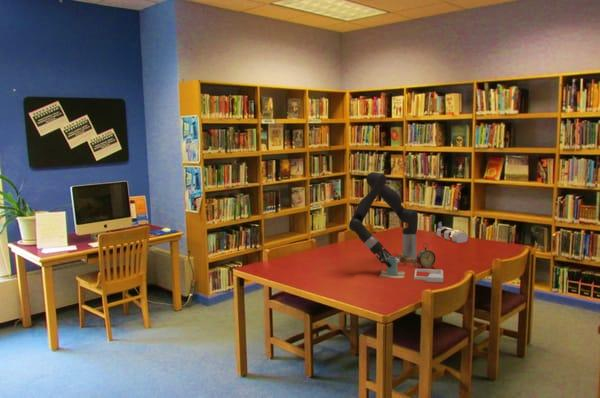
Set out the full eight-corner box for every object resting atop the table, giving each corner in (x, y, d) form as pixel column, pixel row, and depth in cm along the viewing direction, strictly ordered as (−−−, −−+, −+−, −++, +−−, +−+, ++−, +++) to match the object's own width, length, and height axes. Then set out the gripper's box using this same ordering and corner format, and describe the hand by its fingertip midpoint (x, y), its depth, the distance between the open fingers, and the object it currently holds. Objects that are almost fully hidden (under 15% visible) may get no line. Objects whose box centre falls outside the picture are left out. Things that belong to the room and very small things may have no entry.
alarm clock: (420, 270, 306) (420, 244, 304) (415, 268, 312) (415, 243, 309) (435, 268, 309) (435, 243, 307) (431, 266, 314) (431, 241, 312)
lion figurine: (396, 268, 313) (396, 254, 312) (398, 265, 318) (398, 252, 317) (420, 270, 308) (420, 255, 306) (421, 267, 312) (421, 253, 311)
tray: (415, 273, 301) (415, 268, 300) (442, 274, 296) (442, 269, 296) (414, 281, 285) (414, 276, 285) (443, 283, 281) (443, 277, 281)
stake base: (381, 272, 305) (381, 257, 303) (405, 273, 301) (405, 258, 300) (379, 279, 291) (379, 263, 290) (403, 280, 288) (403, 264, 286)
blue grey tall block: (389, 272, 299) (389, 256, 298) (400, 273, 297) (400, 257, 295) (387, 274, 295) (387, 258, 293) (398, 275, 292) (397, 259, 291)
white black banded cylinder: (436, 237, 396) (436, 220, 394) (447, 235, 400) (447, 219, 398) (456, 243, 373) (456, 226, 371) (467, 242, 376) (467, 225, 374)
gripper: (374, 243, 291) (393, 264, 287) (381, 238, 303) (399, 258, 300) (365, 251, 294) (385, 272, 290) (372, 246, 306) (391, 265, 303)
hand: (392, 265), depth 295 cm, fingers open, 8 cm apart
